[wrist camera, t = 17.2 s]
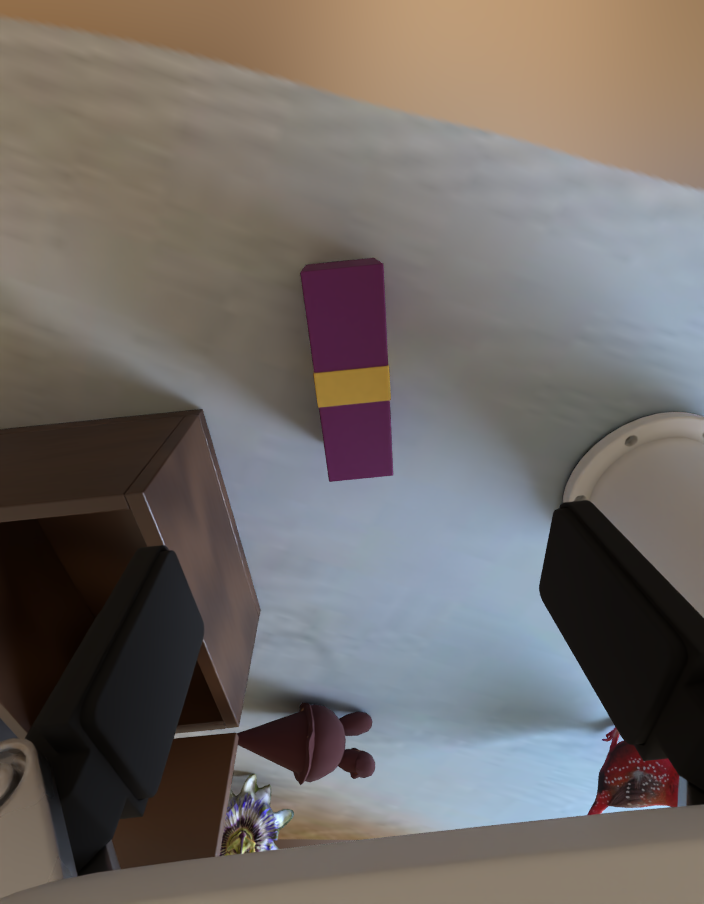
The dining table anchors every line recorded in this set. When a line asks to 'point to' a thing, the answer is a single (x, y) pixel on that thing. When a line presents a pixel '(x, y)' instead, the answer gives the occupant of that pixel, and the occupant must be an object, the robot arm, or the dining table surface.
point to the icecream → (312, 743)
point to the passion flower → (252, 821)
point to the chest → (116, 552)
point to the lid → (182, 806)
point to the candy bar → (350, 365)
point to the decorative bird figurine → (634, 779)
